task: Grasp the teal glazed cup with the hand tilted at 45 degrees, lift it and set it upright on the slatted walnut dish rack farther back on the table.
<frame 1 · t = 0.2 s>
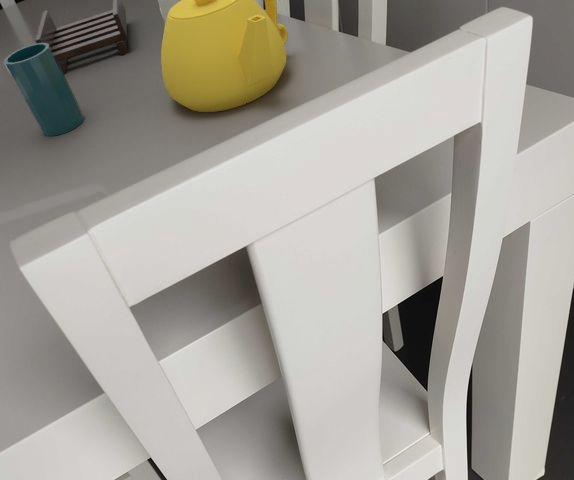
cup: (63, 124, 84), on the table
teapot: (245, 87, 79), on the table
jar: (199, 44, 95), on the table
rack: (94, 48, 105), on the table
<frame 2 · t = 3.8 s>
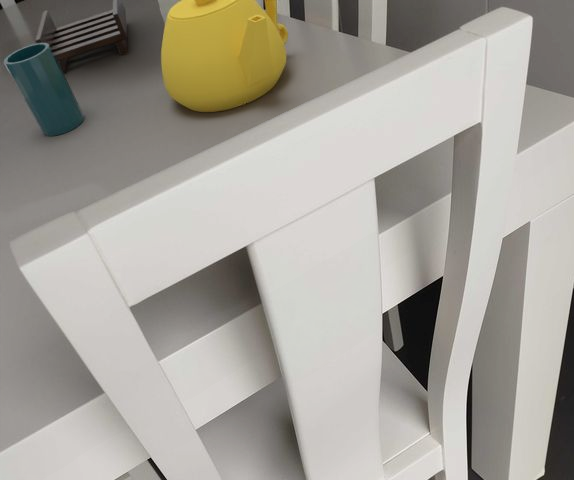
nothing on the table moved.
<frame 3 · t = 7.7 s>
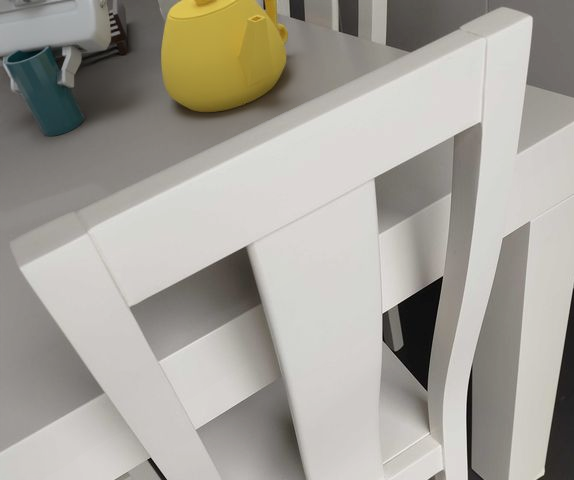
hand: (42, 89, 80), 5 cm above the table, tool tilted 45°, fingers closed on cup, 6 cm apart
cup: (63, 124, 84), on the table, touching gripper
everything else where it was.
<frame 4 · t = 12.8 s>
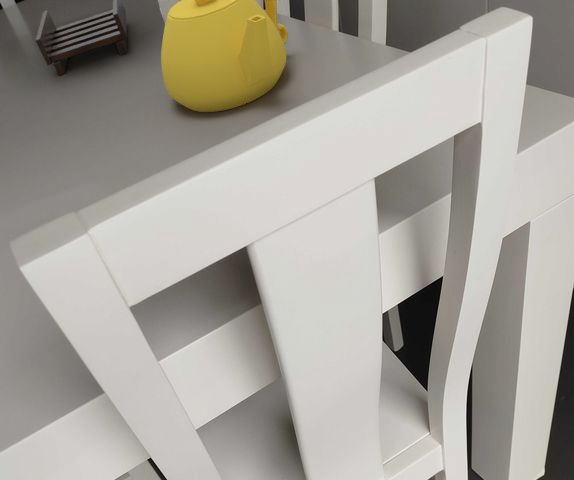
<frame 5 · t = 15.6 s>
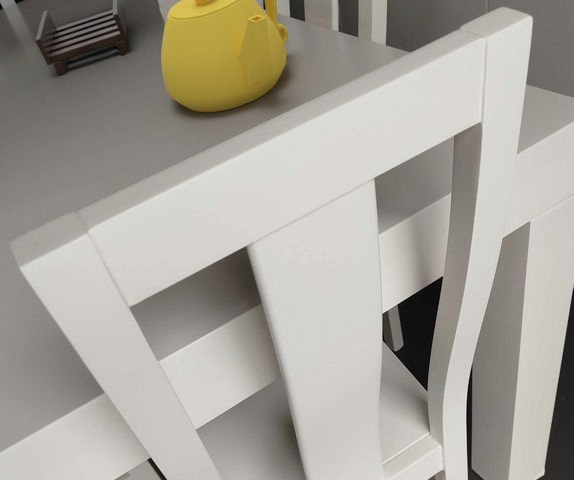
when the fingers open (8 cm above the table, at t = 18.1 s): cup stays where it is, resting on rack.
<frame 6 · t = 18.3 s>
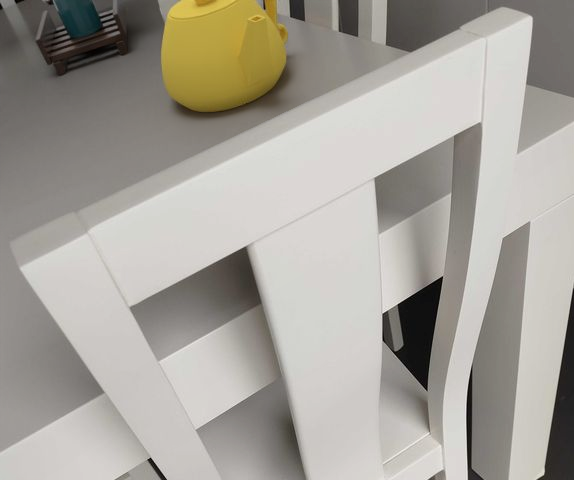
cup: (86, 30, 103), point 3 cm above the table, touching rack
everything else where it was.
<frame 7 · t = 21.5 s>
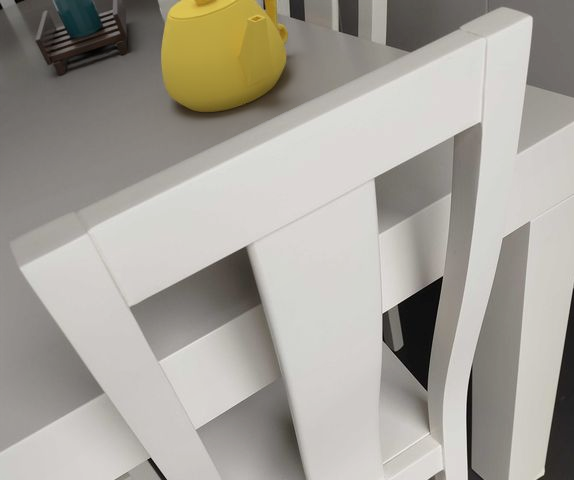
nothing on the table moved.
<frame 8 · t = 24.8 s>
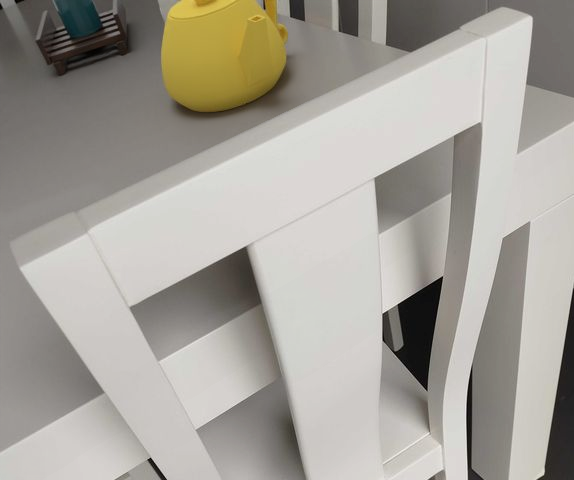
nothing on the table moved.
at the end: cup inside the target area on the rack (0.1 cm from its centre), point 3.0 cm above the rack's base; cup tilted 0°; the gripper is holding nothing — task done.
